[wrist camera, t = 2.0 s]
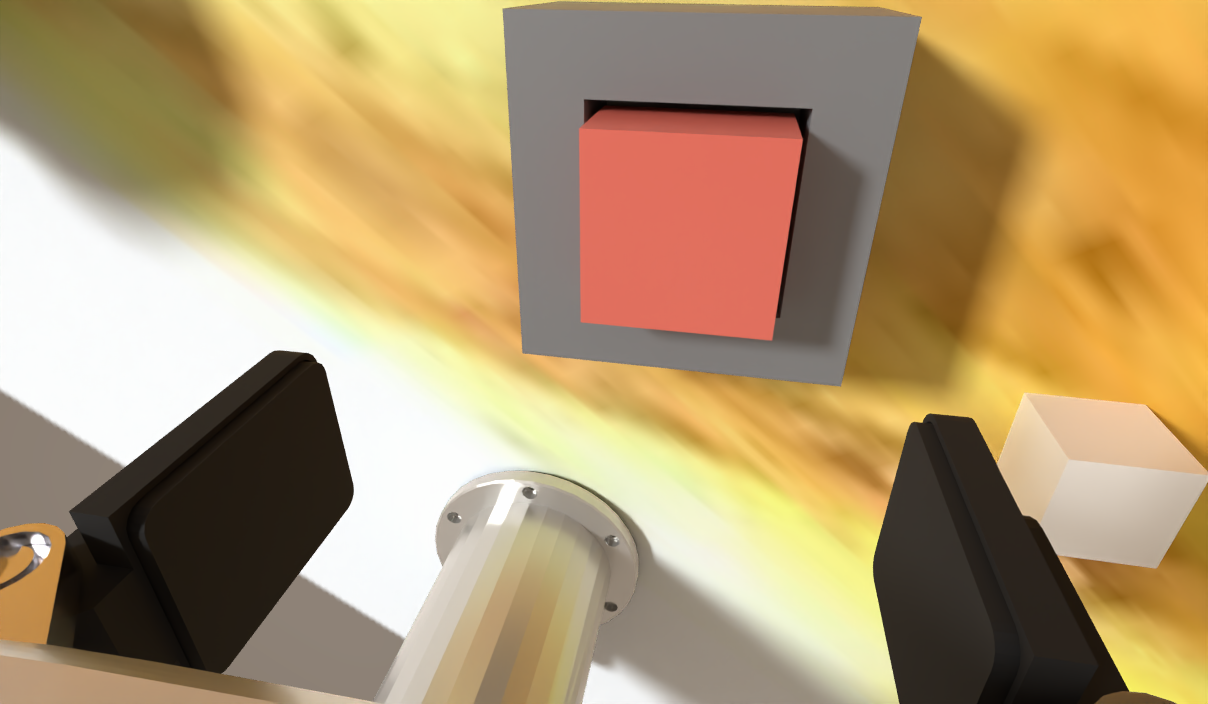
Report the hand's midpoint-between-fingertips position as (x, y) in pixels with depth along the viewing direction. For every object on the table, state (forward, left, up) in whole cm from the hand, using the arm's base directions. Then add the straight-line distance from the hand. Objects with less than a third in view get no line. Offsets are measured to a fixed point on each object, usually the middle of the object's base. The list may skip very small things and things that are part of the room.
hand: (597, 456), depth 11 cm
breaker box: (0, 0, -20) cm, 20 cm away
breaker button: (0, 0, -15) cm, 15 cm away
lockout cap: (-12, -18, -20) cm, 30 cm away
